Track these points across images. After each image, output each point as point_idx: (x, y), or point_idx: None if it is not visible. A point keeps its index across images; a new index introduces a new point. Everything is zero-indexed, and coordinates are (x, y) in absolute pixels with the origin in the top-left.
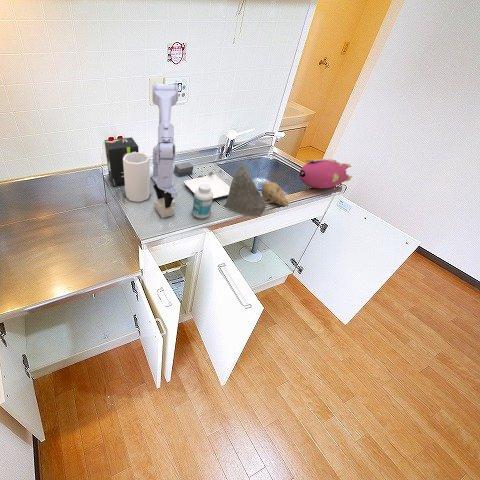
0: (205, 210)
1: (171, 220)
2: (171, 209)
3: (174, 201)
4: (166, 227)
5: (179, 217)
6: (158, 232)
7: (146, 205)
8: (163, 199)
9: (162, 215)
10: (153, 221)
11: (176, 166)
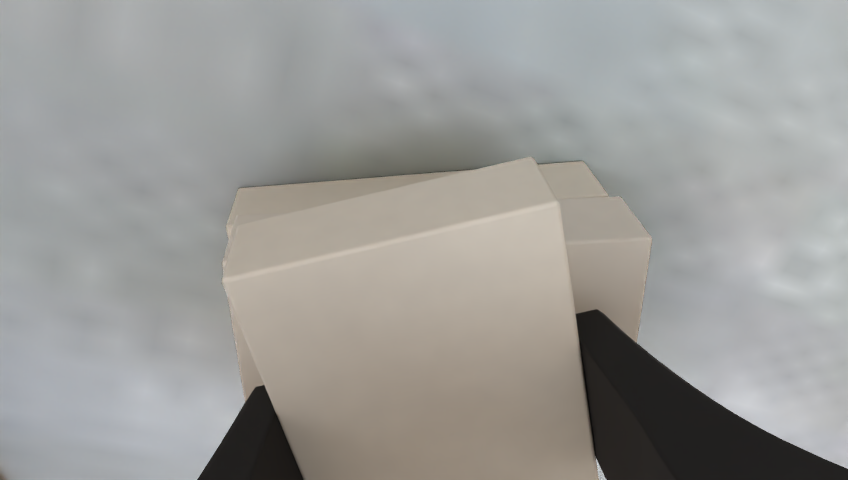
0: None
1: (700, 226)
2: (644, 276)
3: (551, 226)
4: (812, 340)
5: (692, 59)
6: (841, 451)
7: (159, 473)
8: (366, 439)
9: None
10: (597, 460)
11: None
